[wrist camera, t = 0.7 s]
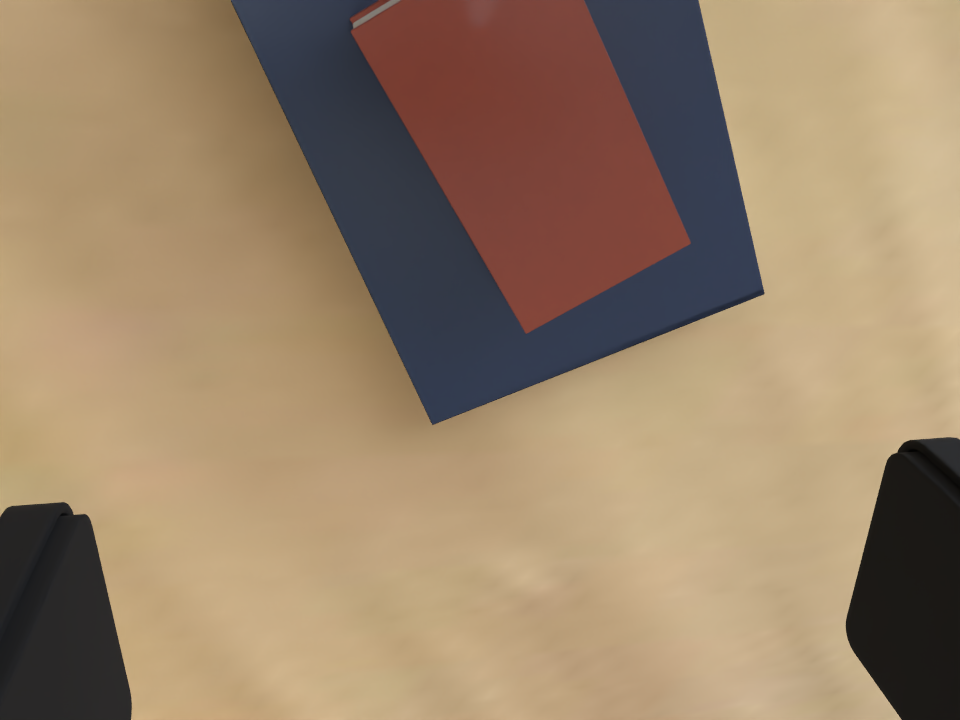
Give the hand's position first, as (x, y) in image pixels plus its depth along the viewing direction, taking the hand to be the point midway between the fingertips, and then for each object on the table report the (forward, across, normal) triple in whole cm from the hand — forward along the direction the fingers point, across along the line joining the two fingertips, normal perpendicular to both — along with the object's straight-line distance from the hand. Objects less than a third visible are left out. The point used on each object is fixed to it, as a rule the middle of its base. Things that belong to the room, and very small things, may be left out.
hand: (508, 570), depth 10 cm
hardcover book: (+24, -4, -1) cm, 25 cm away
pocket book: (+22, -4, -1) cm, 22 cm away
